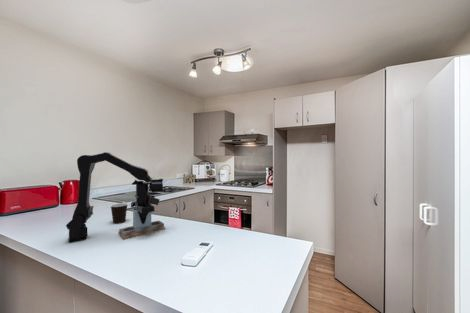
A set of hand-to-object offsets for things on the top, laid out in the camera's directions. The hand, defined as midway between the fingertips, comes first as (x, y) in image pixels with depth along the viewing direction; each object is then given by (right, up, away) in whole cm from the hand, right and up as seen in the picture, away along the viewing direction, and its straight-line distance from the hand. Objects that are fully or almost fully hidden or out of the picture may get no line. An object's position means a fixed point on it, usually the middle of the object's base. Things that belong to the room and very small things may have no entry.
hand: (142, 222), depth 106 cm
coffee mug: (-21, -5, +17) cm, 28 cm away
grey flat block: (0, -2, 0) cm, 2 cm away
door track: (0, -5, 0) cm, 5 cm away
